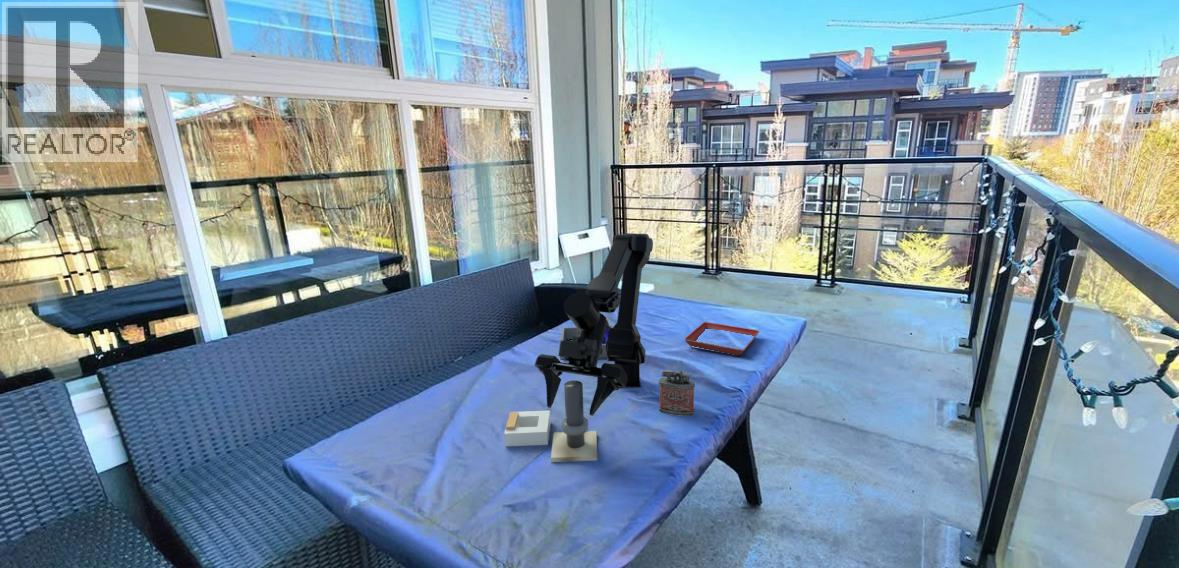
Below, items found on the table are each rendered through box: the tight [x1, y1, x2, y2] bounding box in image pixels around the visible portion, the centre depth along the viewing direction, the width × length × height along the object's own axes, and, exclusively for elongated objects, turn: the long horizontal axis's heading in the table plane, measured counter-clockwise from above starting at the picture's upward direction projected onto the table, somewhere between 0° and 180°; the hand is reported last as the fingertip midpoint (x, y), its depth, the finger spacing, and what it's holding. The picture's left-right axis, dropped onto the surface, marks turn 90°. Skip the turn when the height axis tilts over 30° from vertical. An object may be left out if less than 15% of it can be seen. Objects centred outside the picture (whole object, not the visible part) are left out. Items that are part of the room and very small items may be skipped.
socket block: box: [503, 410, 552, 447], centre depth 106 cm, size 9×9×4 cm
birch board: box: [550, 430, 598, 463], centre depth 101 cm, size 9×9×1 cm
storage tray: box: [558, 324, 615, 361], centre depth 153 cm, size 17×17×4 cm
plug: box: [561, 380, 589, 448], centre depth 99 cm, size 5×5×13 cm
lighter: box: [658, 369, 696, 417], centre depth 112 cm, size 8×3×10 cm, turn 71°
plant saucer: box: [684, 321, 760, 356], centre depth 152 cm, size 18×18×3 cm
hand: (569, 411), depth 98 cm, fingers open, 9 cm apart
